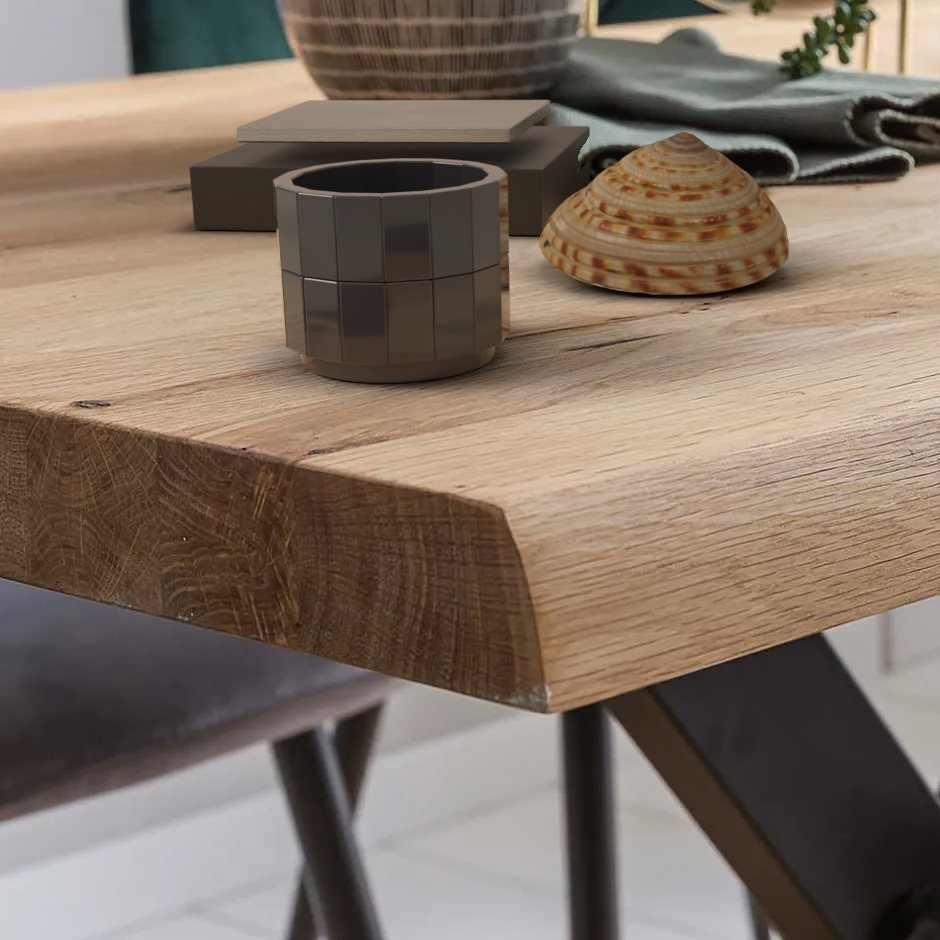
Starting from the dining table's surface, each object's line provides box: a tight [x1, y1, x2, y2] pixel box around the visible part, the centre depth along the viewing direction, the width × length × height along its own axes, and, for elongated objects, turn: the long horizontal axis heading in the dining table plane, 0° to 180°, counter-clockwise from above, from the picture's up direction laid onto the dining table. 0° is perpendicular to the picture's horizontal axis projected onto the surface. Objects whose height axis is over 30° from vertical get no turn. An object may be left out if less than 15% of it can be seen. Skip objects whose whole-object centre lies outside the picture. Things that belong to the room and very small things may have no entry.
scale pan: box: [236, 99, 551, 144], centre depth 65 cm, size 11×9×1 cm
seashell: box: [538, 131, 790, 296], centre depth 53 cm, size 8×6×8 cm
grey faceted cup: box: [273, 158, 511, 384], centre depth 43 cm, size 6×6×5 cm
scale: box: [188, 125, 591, 236], centre depth 66 cm, size 14×12×2 cm
